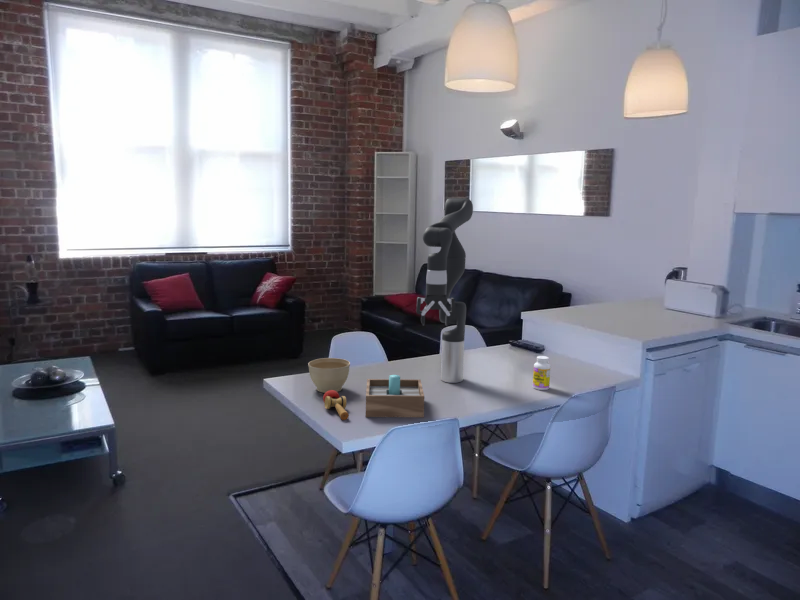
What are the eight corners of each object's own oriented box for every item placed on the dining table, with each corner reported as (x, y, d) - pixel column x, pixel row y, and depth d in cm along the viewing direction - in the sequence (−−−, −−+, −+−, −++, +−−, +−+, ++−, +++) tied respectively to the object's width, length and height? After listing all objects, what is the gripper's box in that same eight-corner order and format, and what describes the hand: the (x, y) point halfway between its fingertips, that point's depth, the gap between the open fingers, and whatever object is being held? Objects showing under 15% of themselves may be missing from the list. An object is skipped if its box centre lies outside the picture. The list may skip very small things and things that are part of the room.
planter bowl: (329, 381, 245) (330, 355, 244) (358, 389, 235) (358, 362, 233) (299, 390, 233) (299, 362, 231) (328, 399, 223) (328, 370, 221)
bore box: (366, 398, 225) (367, 378, 224) (420, 398, 225) (420, 379, 224) (365, 416, 205) (365, 395, 204) (423, 417, 206) (424, 396, 205)
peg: (388, 403, 219) (389, 374, 217) (399, 403, 219) (400, 374, 217) (388, 407, 215) (389, 377, 213) (399, 407, 215) (400, 378, 214)
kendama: (357, 421, 204) (340, 399, 220) (355, 405, 202) (338, 383, 218) (335, 428, 202) (320, 404, 217) (333, 412, 199) (317, 389, 215)
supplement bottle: (529, 387, 242) (530, 356, 240) (538, 384, 247) (539, 354, 245) (543, 391, 237) (545, 360, 235) (552, 388, 242) (554, 357, 240)
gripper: (454, 281, 224) (453, 323, 226) (416, 280, 223) (415, 323, 226) (457, 283, 216) (455, 327, 219) (417, 283, 216) (416, 327, 218)
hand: (435, 325), depth 222 cm, fingers open, 8 cm apart
